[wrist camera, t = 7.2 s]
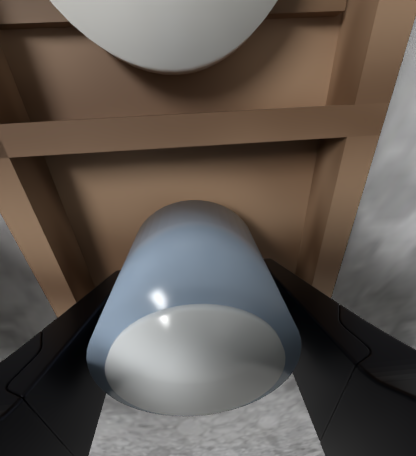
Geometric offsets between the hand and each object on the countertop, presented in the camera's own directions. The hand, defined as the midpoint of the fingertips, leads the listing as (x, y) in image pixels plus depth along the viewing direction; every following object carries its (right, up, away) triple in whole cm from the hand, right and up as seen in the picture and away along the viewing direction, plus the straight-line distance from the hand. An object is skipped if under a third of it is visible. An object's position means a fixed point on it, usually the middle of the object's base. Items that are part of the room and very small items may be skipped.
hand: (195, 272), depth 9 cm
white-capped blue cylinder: (0, +1, +1) cm, 1 cm away
